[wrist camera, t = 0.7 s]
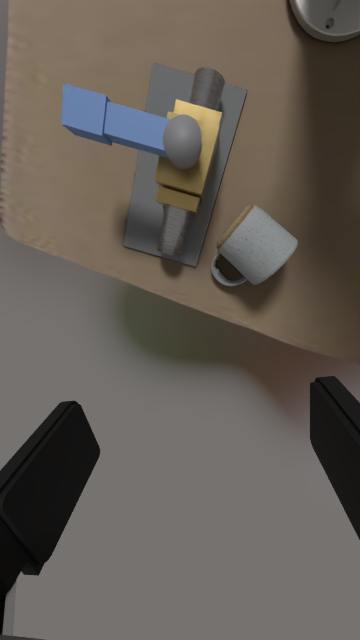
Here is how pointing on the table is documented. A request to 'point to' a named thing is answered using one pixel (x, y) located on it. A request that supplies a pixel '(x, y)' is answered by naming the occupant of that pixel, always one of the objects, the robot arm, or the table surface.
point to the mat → (143, 203)
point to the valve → (190, 184)
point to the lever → (131, 127)
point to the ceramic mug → (254, 247)
